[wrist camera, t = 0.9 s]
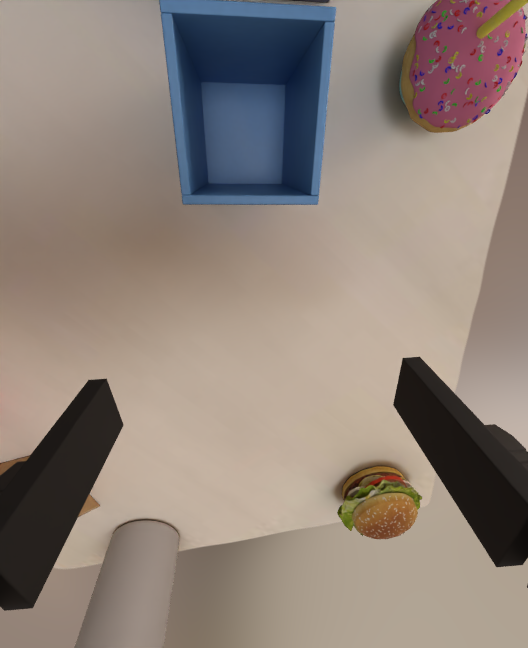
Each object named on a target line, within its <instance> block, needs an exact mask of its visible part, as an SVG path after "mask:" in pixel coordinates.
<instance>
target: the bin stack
mask: <svg viewBox="0 0 528 648" xmlns="http://www.w3.org/2000/svg"><path fill="white" fill-rule="evenodd" d="M294 1H311V2H329V0H294Z"/></svg>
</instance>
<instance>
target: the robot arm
mask: <svg viewBox="0 0 528 648" xmlns="http://www.w3.org/2000/svg"><path fill="white" fill-rule="evenodd" d="M393 405H394V407H395V408H396V410H397V412H398V413H399V415H400V416H401V418H402V419H403V421H404V423H405V424H406V426H407V427H408V429H409V430H410V432H411V434H412V435H413V437H414V438H415V440H416V441H417V443H418V445H419V446H420V448H421V449H422V451H423V452H424V454H425V456H426V457H427V459H428V460H429V462H430V463H431V465H432V467H433V468H434V470H435V471H436V473H437V474H438V476H439V477H440V479H441V481H442V482H443V484H444V485H445V487H446V489H447V490H448V492H449V493H450V495H451V496H452V498H453V500H454V501H455V503H456V504H457V506H458V507H459V509H460V511H461V512H462V514H463V515H464V517H465V518H466V520H467V522H468V523H469V525H470V526H471V528H472V529H473V531H474V533H475V534H476V536H477V537H478V539H479V540H480V542H481V543H482V545H483V547H484V548H485V549H486V551H487V553H488V555H489V556H490V558H491V559H492V561H493V562H494V564H495V566H496V567H503V566H516V565H523V563H524V562H525V561H526V559H527V558H528V452H527V451H526V449H525V448H524V447H523V446H522V445H521V444H520V443H519V442H518V441H517V440H516V439H515V438H514V437H513V436H512V435H511V434H509V433H508V432H506V431H504V430H503V429H501V428H500V427H498V426H497V425H484V424H483V423H482V422H481V421H480V420H479V419H478V418H477V417H476V416H475V415H474V414H473V412H471V410H470V409H469V408H468V407H467V406H466V405H465V404H464V403H463V402H462V401H461V400H460V399H459V398H458V397H457V396H456V395H455V394H454V392H453V391H452V390H451V389H450V388H449V387H448V386H447V385H446V384H445V383H444V382H443V381H442V380H441V379H440V378H439V377H438V376H437V375H436V374H435V372H434V371H433V370H432V369H431V368H430V367H429V366H428V365H427V364H426V363H425V362H424V361H423V360H422V359H421V358H420V357H412V358H403V360H402V365H401V370H400V375H399V380H398V384H397V389H396V394H395V399H394V404H393ZM122 427H123V422H122V420H121V417H120V414H119V411H118V409H117V406H116V403H115V401H114V398H113V395H112V392H111V390H110V387H109V384H108V382H107V379H97V380H88V382H87V383H86V384H85V386H84V387H83V388H82V389H81V391H80V392H79V393H78V395H77V396H76V397H75V398H74V400H73V401H72V402H71V404H70V405H69V406H68V408H67V409H66V410H65V411H64V413H63V414H62V415H61V417H60V418H59V419H58V420H57V422H56V423H55V424H54V426H53V427H52V428H51V430H50V431H49V432H48V433H47V435H46V436H45V437H44V439H43V440H42V441H41V442H40V444H39V445H38V446H37V448H36V449H35V450H34V451H33V453H32V454H31V455H30V457H29V458H28V459H27V461H19V462H16V463H15V464H14V465H12V466H11V467H10V468H9V469H7V470H6V471H5V472H4V473H3V474H1V475H0V607H2V609H3V610H16V609H28V608H33V606H34V604H35V602H36V600H37V598H38V596H39V594H40V592H41V590H42V588H43V586H44V584H45V582H46V580H47V578H48V576H49V574H50V572H51V570H52V568H53V566H54V564H55V562H56V560H57V558H58V556H59V554H60V552H61V550H62V548H63V546H64V544H65V542H66V540H67V538H68V536H69V534H70V532H71V530H72V528H73V526H74V524H75V522H76V520H77V518H78V516H79V514H80V512H81V510H82V508H83V506H84V504H85V502H86V500H87V497H88V495H89V493H90V491H91V489H92V487H93V485H94V483H95V481H96V479H97V477H98V475H99V473H100V471H101V469H102V467H103V465H104V463H105V461H106V459H107V457H108V455H109V453H110V451H111V449H112V447H113V445H114V443H115V441H116V439H117V437H118V435H119V433H120V431H121V429H122ZM527 588H528V585H527Z"/></svg>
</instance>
